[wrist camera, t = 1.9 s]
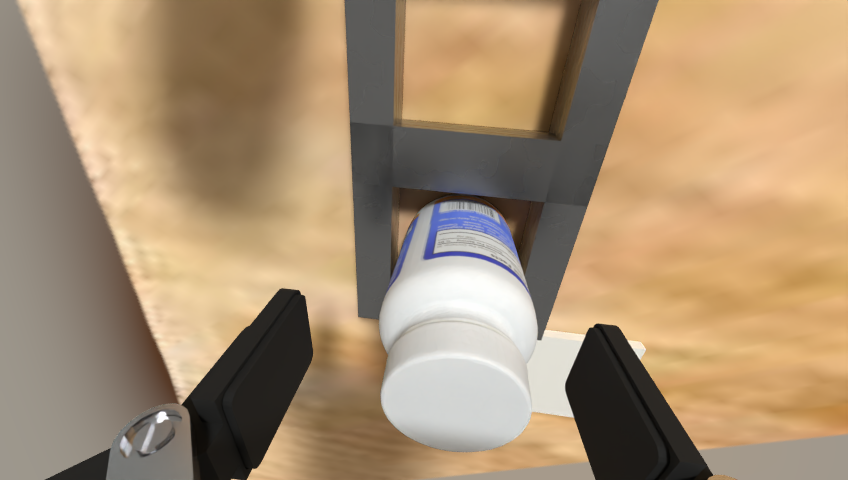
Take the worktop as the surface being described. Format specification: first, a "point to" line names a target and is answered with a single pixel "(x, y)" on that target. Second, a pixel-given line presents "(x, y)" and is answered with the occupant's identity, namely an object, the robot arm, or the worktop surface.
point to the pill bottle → (458, 330)
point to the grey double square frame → (484, 144)
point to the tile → (557, 370)
